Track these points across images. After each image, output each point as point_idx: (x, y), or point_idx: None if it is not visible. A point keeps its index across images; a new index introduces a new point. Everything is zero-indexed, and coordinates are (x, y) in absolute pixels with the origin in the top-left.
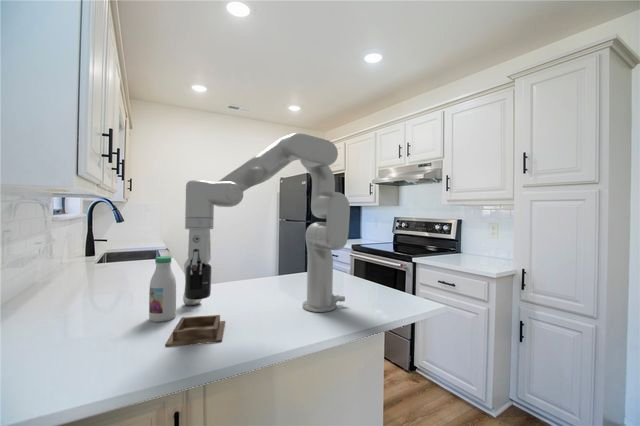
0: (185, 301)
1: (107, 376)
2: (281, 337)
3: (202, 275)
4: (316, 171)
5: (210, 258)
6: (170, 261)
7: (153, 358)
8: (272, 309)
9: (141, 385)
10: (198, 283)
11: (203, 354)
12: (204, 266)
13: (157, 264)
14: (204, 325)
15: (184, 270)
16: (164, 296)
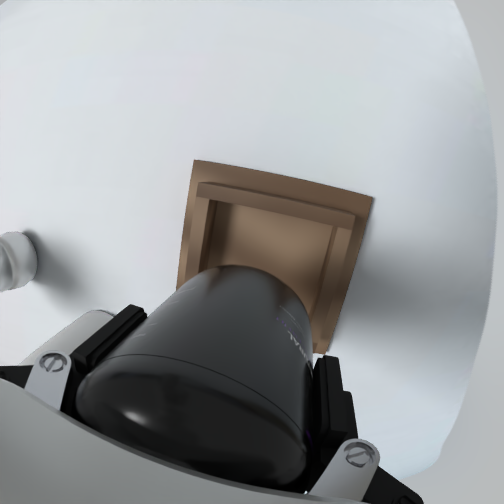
0: (30, 280)
1: (399, 422)
2: (400, 24)
3: (347, 428)
4: None
5: (3, 391)
6: None
7: (377, 369)
8: (140, 3)
9: (467, 371)
10: (352, 406)
11: (424, 260)
12: (278, 478)
13: None
14: (214, 238)
15: None
16: None
